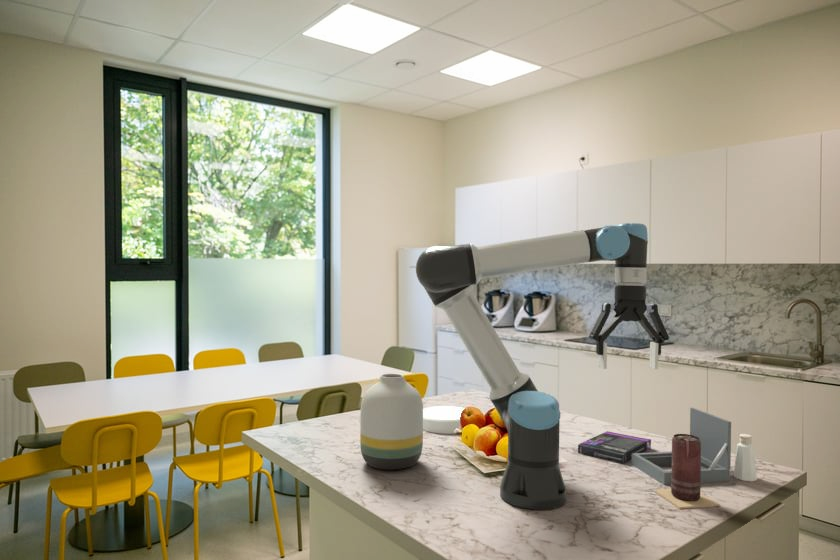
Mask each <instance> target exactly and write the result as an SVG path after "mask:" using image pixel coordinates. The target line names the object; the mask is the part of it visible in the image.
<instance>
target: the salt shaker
mask: <svg viewBox="0 0 840 560" xmlns="http://www.w3.org/2000/svg"><path fill="white" fill-rule="evenodd" d="M752 438H753V436H752V435H751V434H746V433H741V434H739V443H737V445H736V452H735V461H734V468H733V474H732V475H733V477H734V478H735V479H737V480H740V481H745V482H755V481H757V480H758V475H757V465H756V458H755V457H756V455H755V454H756V453H755V446H754V445H753V444H752V441H753V439H752Z"/></svg>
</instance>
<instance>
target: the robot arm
mask: <svg viewBox="0 0 840 560" xmlns="http://www.w3.org/2000/svg"><path fill="white" fill-rule="evenodd" d="M648 243H649V240H648V228H647V225H646V224H644V223H639V222H638V223H634V222H632V223H630V222H627V223H625V222H623V223H618V224H617V225H605V226H603V227H597V228H591V229H586V230H583V229H582V230H573V231H570V232H566V233H557V234H552V235H545V236H538V237H532V238H526V239H520V240H519V239H518V240H512V241H506V242H500V243H493V244H486V245H481V246H475V245H474V244H472V243H471V242H469V243H466V244H465V243H464V244H454V245H452V244H451V245H449V244H445V245H444V244H443V245H442V244H436V245H432V246H430V247H428V248H426V249H425V250H423V251H422V253H421V254H420V255H419V256H418V258H417V261H416V265H415V273H416V278H417V280H418V281H419V284H421V286H422V287H423V289H424V290H425V291H426V293H427V295H428V297H429V298H430V300H431V301H432V304H433V305H434V307H435V308H439V309H442V310H444V312H445V314H446V316H447V317H448V319H449V321H450V322H451V324H452V326H453V327H454V329H455V330H456V332H457V335H459V337H460V339H461V340H462V342H463V344H464V345H465V347H466V349H467V351H468V353H469V354H470V356H471V358H472V359H473V361H474V363H475V365H476V367H477V368H478V369H479V371H480V373H481V374H482V376H483V378H484V380H485V381H486V383H487V385H488V386H489V388H490V392H489V398H488V399H490V401H491V403H492V405H493V406H494V409H495V410H496V411H497V413H498V415H499V417H500V419H501V421H502V422H503V424H504V425H505V429H507V433H508V434H507V436H508V437H507V464H506V467H505V470H504V472H503V474H502V475H503V476H502V477H501V481H500V485H499V496H500V498H501V499H502V500H503V501H504V502H506V503H507V504H510V505H512V506H515V507H518V508H521V509H528V510H538V511H539V510H540V511H542V510H553V509H557V508H560V507H562V506H564V505H565V503H566V502H567V487H566V485H565V481H564V477H563V475H562V471H561V468H560V425H561V423H560V419H561V410H560V404H559V403H560V402H559V401H558V399H556V397H554V395H551V394H550V393H549V394H548V393H547V394H546V392H542V391H538V389H537V387H536V385H535V384H534V382H533V380H532V378H531V377H530V375H529V374H527V373H524V372H520V369H518V367H517V365H516V364H515V363H516V362H514V360H513V358H512V357H511V355H510V353H509V352H508V350H507V348H506V347H505V345H504V343H503V341H502V340H501V338H500V336H499V335H498V332H497V331H496V329H495V327H494V326H493V325H492V323H491V321H490V319H489V318H488V316H487V313H486V312H485V311H484V309H483V307H482V306H481V304H480V303H479V301H478V299H477V298H476V295H475V294H474V291H473V290H474V287H475V285H478V284H479V283H480V281H481V280H484V279H489V278H496V277H504V276H509V275H515V274H516V275H517V274H522V273H528V272H535V271H541V270H547V269H554V268H561V267H565V266H571V265H573V266H574V265H579V264H586V263H593V262H599V261H608V262H609V261H610V262H611V261H612V262H613V261H614V263H615V265H614V268H615V269H614V282H615V283H616V284H615V286H614V296H613V297H614V303H613V304H611V303H609V302H608V303H607V302H603V303H601V304H602V305H601V311H600V313H599V315H598V317H597V319H596V321H595V323H594V325H593V327H592V329H591V331H590V332H589V335H588V338H589V339H591V340H594V341H595V342H596V343H595V344H596V346H595V347H596V349H595V353H596V355H598V356H599V358H598V367H599V368H601V369H603V370H604V369H605V370H606V369H607V362H608V360H607V359H608V342H605V341H606V340H607V339H608V337H609V336H610V335H611V334H612V333H613V331H614V330H615V329H616V328H617V327H618V326H619V325H620V323H622V322H637V323H639V324H640V326H641V327H642V328H643V329H644V331H645V332H646V334H648V336H649V337H650V338H651V340H652V341H649V368H651V369H653V370H658V369H659V364H658V363H659V356H661V354H662V344H663V343H664V342H665V341H669V340H670V336H669V334H668V332H667V330H666V328H665V325H664V323H663V320H662V318H661V316H660V314H659V309H658V308H659V306H658V304H656V303H649V304H646V299H647V287H646V285H645V284H646V283H647V269H648V268H647V262H648V259H647V258H648ZM613 311H614V312H615V314H614V315H612V317H611V319H610V321H609V322H608V323H607V324H606V322H607V320H608V318H609V316H610V313H612V312H613ZM646 311H647V313H648V314H649V317H650V319H651V321H652V324H653V325H652V324H651V323H650V321H649V319H648V318H647V316H646V315H645V313H646ZM605 324H606V325H605ZM604 326H605V327H604ZM653 326H654V327H653Z"/></svg>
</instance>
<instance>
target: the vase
mask: <svg viewBox="0 0 840 560" xmlns="http://www.w3.org/2000/svg"><path fill="white" fill-rule="evenodd" d="M423 409H424V404H423V399H422V396H421V393H420V392H419V391H418V390H417V388H416V387H414V386H412V385H411V384H410V383H409V382H407V380H406V378H405V375H404V374H401V373H384V374H381V375H380V376H379V380H378V381H377V382H375V383H374V384H373V385H372V386H370V387H368V389H367V390H366V391H365V392H364V394H363V396H362V399H361V402H360V421H359V422H360V423H359V424H360V425H359V426H360V427H359V428H360V430H359V431H360V432H359V435H360V437H359V438H360V441H359V444H360V453H361V456H362V458H363V461H364V462H365V463H366V464H367V465H369V466H371V467H373V468H376V469H379V470H389V471H390V470H391V471H393V470H394V471H395V470H402V469H407V468H410V467H411V466H413V465H415V464H416V463H417V462H418V461H419V459H420V458H421V456H422V452H423V446H424V445H423V443H424V442H423V441H424V438H423V437H424V436H423V435H424V430H423Z"/></svg>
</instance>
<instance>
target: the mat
mask: <svg viewBox="0 0 840 560" xmlns="http://www.w3.org/2000/svg"><path fill="white" fill-rule="evenodd" d="M653 492H654V493H655V494H657V495H659V497H661V498H663V499H664V500H665V501H667V502H669V503H670V504H672V505H673V506H675V507H677V508H678V509H679V510H680V509H682V510H684V509H697V508H698V509H700V508H709V507H712V508H715V507H721V504H720V503H718V502H717V501H715V500H714V499H712V498H710V497H709V496H707V495H705V494H704V493H702V492H700V498H699V500H697V501H683V500H680V499H677V498H675V497H674V496H673V495H672V493H671V488H662V489H660V488H659V489H653Z"/></svg>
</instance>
